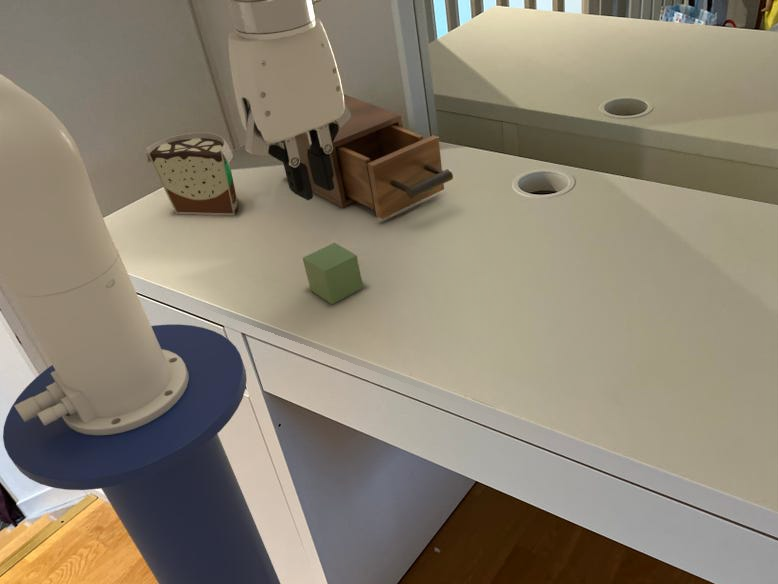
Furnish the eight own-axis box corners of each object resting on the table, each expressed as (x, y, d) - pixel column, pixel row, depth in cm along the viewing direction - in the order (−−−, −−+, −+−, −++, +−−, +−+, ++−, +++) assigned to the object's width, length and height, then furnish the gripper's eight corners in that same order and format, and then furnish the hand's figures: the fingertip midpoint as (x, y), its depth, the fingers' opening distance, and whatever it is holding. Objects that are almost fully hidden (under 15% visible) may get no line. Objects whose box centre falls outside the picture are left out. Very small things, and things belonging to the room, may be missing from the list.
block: (332, 304, 87) (324, 271, 84) (310, 290, 89) (302, 257, 86) (363, 287, 89) (356, 255, 86) (341, 274, 92) (334, 242, 89)
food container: (261, 195, 110) (243, 131, 104) (244, 215, 106) (224, 149, 99) (186, 193, 112) (164, 130, 106) (166, 213, 108) (142, 148, 101)
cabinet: (410, 177, 112) (401, 114, 105) (342, 208, 105) (329, 144, 99) (353, 152, 120) (342, 93, 114) (288, 179, 114) (272, 119, 108)
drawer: (467, 199, 103) (463, 146, 98) (404, 231, 97) (396, 176, 92) (386, 164, 114) (378, 114, 109) (325, 191, 108) (314, 140, 103)
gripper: (320, -12, 75) (352, 158, 87) (176, 27, 67) (232, 208, 79) (364, -2, 71) (391, 175, 83) (215, 40, 63) (269, 230, 75)
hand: (313, 190), depth 81 cm, fingers closed
